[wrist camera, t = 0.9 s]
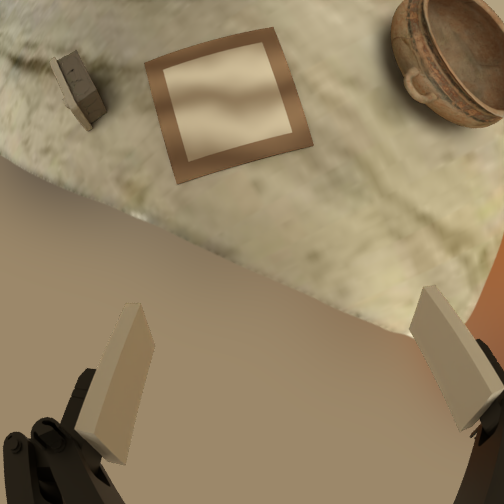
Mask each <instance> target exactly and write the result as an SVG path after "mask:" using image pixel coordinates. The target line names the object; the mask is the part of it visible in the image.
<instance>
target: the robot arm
mask: <svg viewBox="0 0 504 504" xmlns="http://www.w3.org/2000/svg"><path fill="white" fill-rule="evenodd" d="M409 330H410V332H411V333H412V335H413V337H414V339H415V341H416V343H417V344H418V346H419V348H420V350H421V352H422V354H423V356H424V357H425V360H426V362H427V364H428V366H429V367H430V369H431V371H432V373H433V375H434V377H435V380H436V382H437V383H438V386H439V388H440V390H441V392H442V394H443V396H444V398H445V400H446V403H447V405H448V407H449V409H450V411H451V414H452V416H453V418H454V421H455V423H456V425H457V427H458V430H459V431H463V430H465V429H467V428H470V427H472V426H473V425H474V424H475V423H476V422H477V421H478V420H479V419H480V421H481V424H480V425H479V426H478V427H477V428H476V430H475V431H473V432H472V434H471V435H470V438H472V437H473V436H474V435H475V434H476V433H477V435H476V437H475V442H474V446H473V449H472V453H471V456H470V460H469V463H468V466H467V469H466V472H465V475H464V478H463V480H462V483H461V486H460V488H459V491H458V494H457V496H456V499H455V501H454V503H453V504H504V371H503V369H502V367H501V366H500V364H499V363H498V362H497V360H496V358H495V356H493V354H492V352H491V350H490V349H489V347H488V346H487V345H486V344H485V343H483V342H482V341H481V340H480V339H477V340H475V339H474V338H473V336H472V335H471V333H470V332H469V330H468V329H467V327H466V326H465V324H464V323H463V322H462V320H461V319H460V317H459V316H458V315H457V313H456V312H455V310H454V309H453V308H452V306H451V305H450V304H449V302H448V301H447V300H446V298H445V297H444V296H443V294H442V293H441V292H440V291H439V289H438V288H437V287H436V285H434V286H425V287H423V289H422V292H421V296H420V299H419V302H418V305H417V308H416V311H415V314H414V316H413V319H412V322H411V325H410V328H409ZM154 349H155V343H154V341H153V338H152V335H151V332H150V329H149V326H148V323H147V321H146V318H145V315H144V311H143V308H142V305H141V303H126V304H125V306H124V308H123V310H122V312H121V314H120V317H119V319H118V321H117V323H116V325H115V328H114V330H113V332H112V334H111V337H110V339H109V341H108V343H107V346H106V348H105V350H104V353H103V355H102V358H101V360H100V362H99V365H98V367H97V369H89V368H87V369H86V370H85V371H84V372H83V373H82V374H81V375H80V376H79V378H78V380H77V383H76V385H75V389H74V390H73V392H72V395H71V396H72V397H71V398H70V400H69V402H68V405H67V407H66V410H65V413H64V415H63V418H62V420H61V423H60V424H59V423H58V422H57V421H56V420H55V419H53V418H49V417H46V418H42V419H40V420H38V421H37V422H36V423H35V424H34V426H33V427H32V430H31V439H28V438H27V437H26V436H25V435H23V434H22V433H20V432H13V433H10V434H9V435H8V436H7V437H6V439H5V441H4V446H3V457H4V477H5V488H6V496H7V504H125V503H124V501H123V500H122V498H121V496H120V495H119V493H118V492H117V490H116V488H115V487H114V485H113V483H112V482H111V480H110V478H109V476H108V475H107V473H106V471H105V469H104V468H103V466H102V465H101V463H100V462H101V458H102V457H103V458H104V459H106V460H107V461H108V462H112V463H116V464H121V465H126V461H127V456H128V452H129V447H130V442H131V438H132V434H133V429H134V424H135V420H136V417H137V413H138V408H139V404H140V400H141V396H142V393H143V389H144V385H145V381H146V377H147V374H148V370H149V366H150V363H151V359H152V356H153V352H154Z"/></svg>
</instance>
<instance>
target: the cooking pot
mask: <svg viewBox="0 0 504 504" xmlns="http://www.w3.org/2000/svg"><path fill="white" fill-rule="evenodd" d="M391 43H392V48H393V53H394V56H395V59H396V61H397V64H398V66H399V68H400V70H401V72H402V74H403V76H404V86H405V88H406V90H407V91H408V93H409V94H410V96H411V97H412V98H413V99H415V100H416V101H418V102H420V103H424V104H426V105H427V106H428V107H429V108H430V109H431V110H433V111H434V112H435V113H436V114H438V115H440V116H441V117H443V118H444V119H446V120H448V121H450V122H453V123H455V124H457V125H460V126H464V127H469V128H483V127H487V126H490V125H492V124H495V123H496V122H498V121H499V120H501V119H502V118H504V23H503V21H502V20H501V19H500V18H499V16H497V14H496V13H495V12H494V11H493V10H492V9H491V8H490V7H489V6H488V5H487V4H486V3H485V2H484V1H483V0H404V1H403V2H402V3H401V4H400V5H399V6H398V8H397V9H396V12H395V14H394V16H393V19H392V26H391Z"/></svg>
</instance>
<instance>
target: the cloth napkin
mask: <svg viewBox="0 0 504 504" xmlns="http://www.w3.org/2000/svg"><path fill="white" fill-rule="evenodd" d="M144 64H145V68H146V72H147V76H148V80H149V85H150V89H151V93H152V96H153V100H154V104H155V108H156V112H157V116H158V119H159V123H160V127H161V131H162V134H163V138H164V141H165V145H166V148H167V152H168V156H169V159H170V162H171V166H172V169H173V173H174V176H175V179H176V183H177V184H180V183H183V182H186V181H189V180H192V179H195V178H198V177H201V176H204V175H208V174H211V173H214V172H217V171H221V170H224V169H227V168H231V167H234V166H237V165H241V164H244V163H248V162H252V161H255V160H259V159H262V158H266V157H270V156H274V155H278V154H281V153H285V152H289V151H293V150H297V149H302V148H306V147H310V146H313V145H314V144H313V141H312V137H311V134H310V131H309V127H308V124H307V121H306V118H305V115H304V111H303V108H302V105H301V102H300V99H299V96H298V93H297V90H296V87H295V84H294V81H293V78H292V76H291V73H290V70H289V67H288V64H287V62H286V59H285V56H284V53H283V51H282V48H281V45H280V43H279V40H278V38H277V35H276V33H275V30H274V28H273V27H270V28H265V29H259V30H254V31H249V32H244V33H240V34H235V35H231V36H227V37H223V38H219V39H215V40H212V41H208V42H204V43H201V44H197V45H194V46H191V47H188V48H185V49H181V50H178V51H175V52H172V53H170V54H167V55H164V56H161V57H158V58H156V59H153V60H151V61H148V62H145V63H144Z"/></svg>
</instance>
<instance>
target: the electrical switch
mask: <svg viewBox="0 0 504 504" xmlns="http://www.w3.org/2000/svg"><path fill="white" fill-rule="evenodd" d="M49 62H50V65H51V68H52V70H53V72H54V75H55V77H56V79H57V81H58V84H59V86H60V88H61V90H62V93H63V95H64V98H63V102H64V104H65V106H66V107H67V108H69V109H71V111H72V113H73V114H74V116H75V117H76V118H77V120H78V121H79V122H80V123H81V125H82V126H83V127H84V128H85V129H86V131H89V130H91V129H92V126H91V123H92V122H94V121H95V120H97V119H98V118H99V117H100V116H102V115H104V114H105V113H107V111H106V109H105V107H104V105H103V102H102V100H101V98H100V96H99V93H98V91H97V89H96V87H95V85H94V83H93V81H92V80H91V78H90V76H89V74H88V72H87V70H86V68H85V66H84V64H83V62H82V60H81V58H80V56H79V54H78V52H77V50H75V51H74V52H72V53H71V54H69V55H67V56H64V57H63V58H61V59H59V60H56V58H55V57H53V58H52V59H51V60H50V61H49Z"/></svg>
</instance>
